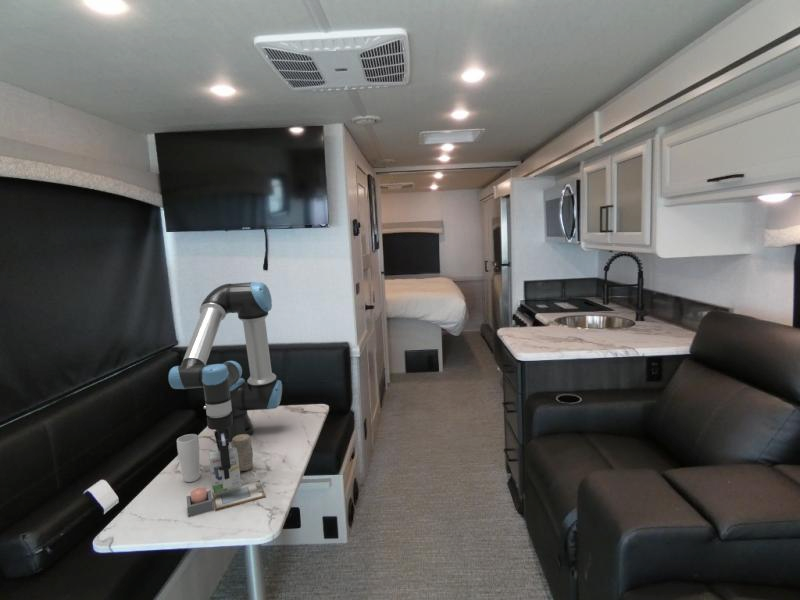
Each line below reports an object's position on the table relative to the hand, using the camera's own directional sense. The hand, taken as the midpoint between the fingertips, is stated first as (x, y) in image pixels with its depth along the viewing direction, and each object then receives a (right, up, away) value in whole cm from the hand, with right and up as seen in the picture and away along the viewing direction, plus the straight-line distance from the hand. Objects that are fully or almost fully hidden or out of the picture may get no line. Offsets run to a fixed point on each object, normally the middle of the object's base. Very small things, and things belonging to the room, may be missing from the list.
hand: (226, 483), depth 151 cm
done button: (-6, -4, -7) cm, 10 cm away
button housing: (-6, -5, -7) cm, 10 cm away
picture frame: (+4, -4, -1) cm, 6 cm away
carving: (0, -2, +17) cm, 17 cm away
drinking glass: (-16, -3, +12) cm, 20 cm away
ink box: (0, -2, 0) cm, 2 cm away
